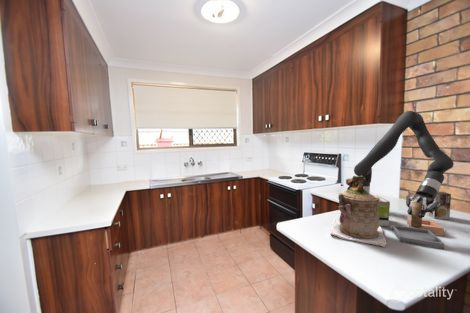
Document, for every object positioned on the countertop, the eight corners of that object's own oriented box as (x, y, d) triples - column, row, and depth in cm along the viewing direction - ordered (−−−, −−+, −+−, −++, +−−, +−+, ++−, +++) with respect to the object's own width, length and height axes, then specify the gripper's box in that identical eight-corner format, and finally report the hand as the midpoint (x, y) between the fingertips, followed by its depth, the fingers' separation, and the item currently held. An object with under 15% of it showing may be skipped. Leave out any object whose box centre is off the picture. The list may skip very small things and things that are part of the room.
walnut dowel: (412, 227, 103) (413, 203, 102) (409, 224, 106) (410, 201, 106) (422, 228, 101) (424, 204, 100) (419, 225, 105) (420, 202, 104)
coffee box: (440, 215, 135) (442, 191, 134) (450, 219, 128) (451, 193, 127) (425, 215, 136) (427, 191, 135) (434, 218, 129) (435, 193, 128)
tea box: (389, 226, 119) (390, 201, 117) (370, 225, 121) (371, 200, 119) (377, 217, 133) (378, 194, 132) (360, 216, 135) (360, 194, 134)
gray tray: (400, 242, 101) (400, 237, 100) (391, 229, 115) (392, 224, 115) (443, 249, 94) (444, 243, 93) (429, 234, 108) (429, 230, 108)
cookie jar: (381, 229, 115) (384, 173, 113) (387, 249, 94) (391, 180, 92) (333, 221, 128) (334, 170, 125) (329, 237, 106) (330, 176, 104)
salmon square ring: (413, 231, 112) (414, 224, 111) (406, 223, 122) (407, 217, 122) (443, 235, 106) (444, 228, 106) (433, 227, 117) (433, 220, 117)
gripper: (409, 182, 112) (395, 207, 108) (444, 187, 99) (430, 215, 95) (414, 190, 114) (401, 215, 110) (449, 196, 101) (435, 225, 97)
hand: (414, 215), depth 102 cm, fingers closed on walnut dowel, 4 cm apart
